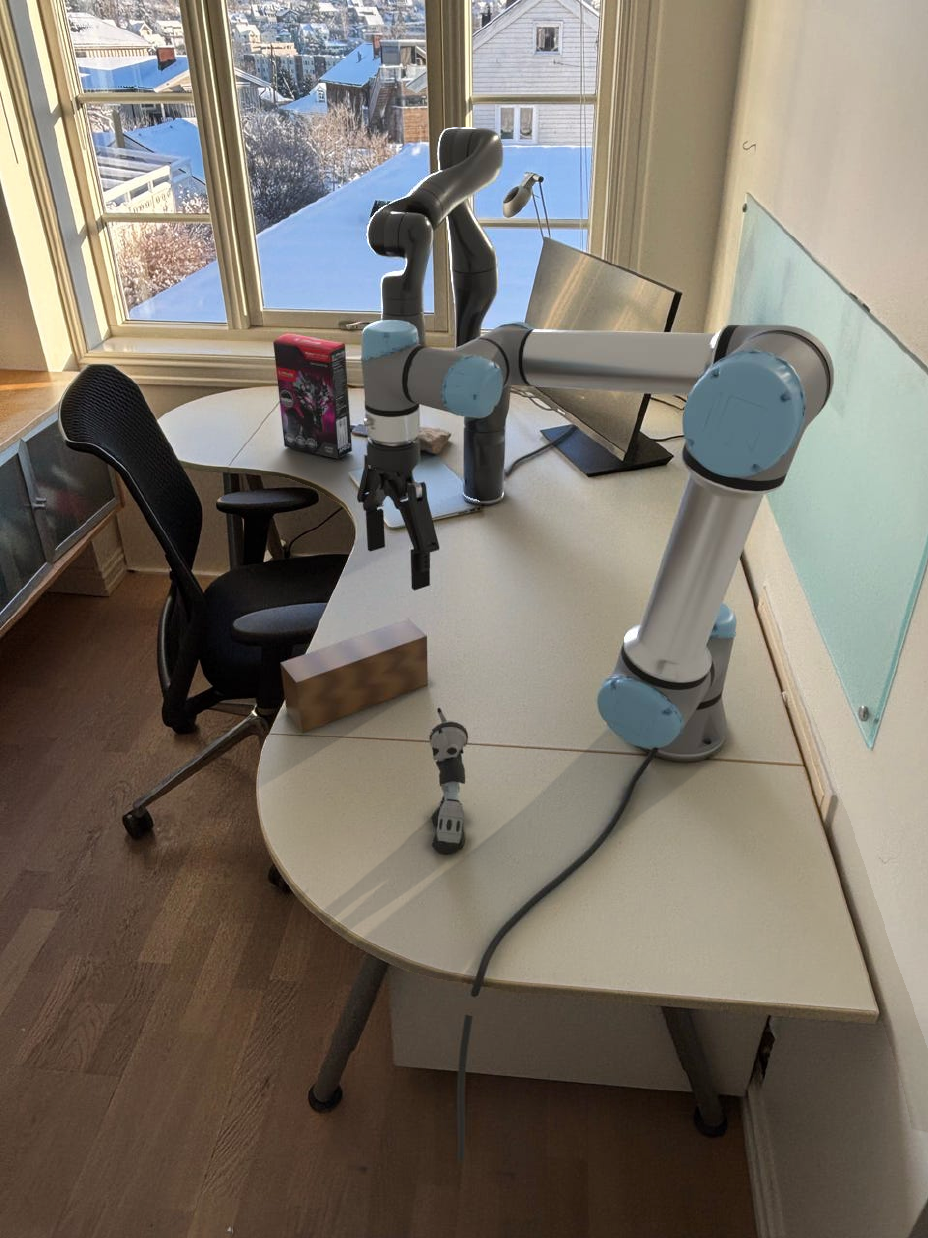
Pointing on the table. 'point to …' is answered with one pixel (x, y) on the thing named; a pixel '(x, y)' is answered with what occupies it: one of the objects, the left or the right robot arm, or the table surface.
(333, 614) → the table surface
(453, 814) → the robot
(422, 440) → the stone
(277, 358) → the graphics card box
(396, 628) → the box
